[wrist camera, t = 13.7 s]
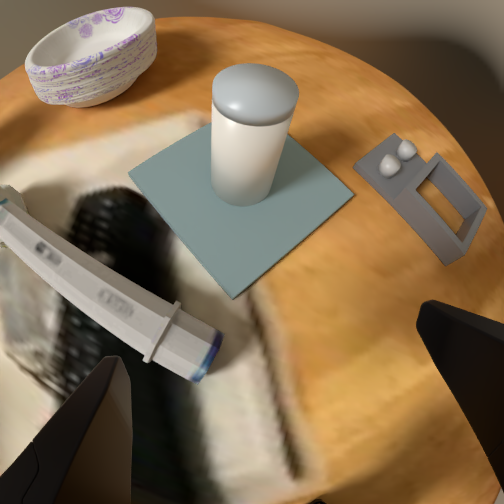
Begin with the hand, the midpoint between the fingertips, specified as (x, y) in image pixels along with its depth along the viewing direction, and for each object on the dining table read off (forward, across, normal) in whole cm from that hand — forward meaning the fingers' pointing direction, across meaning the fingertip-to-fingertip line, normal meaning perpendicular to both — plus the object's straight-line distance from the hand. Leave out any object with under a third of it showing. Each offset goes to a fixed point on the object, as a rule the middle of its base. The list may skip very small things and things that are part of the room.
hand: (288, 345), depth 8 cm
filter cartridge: (+19, -2, -1) cm, 19 cm away
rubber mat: (+20, -2, 0) cm, 20 cm away
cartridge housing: (+18, -20, +1) cm, 27 cm away
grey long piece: (+15, +12, +4) cm, 20 cm away
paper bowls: (+32, +13, -13) cm, 37 cm away
